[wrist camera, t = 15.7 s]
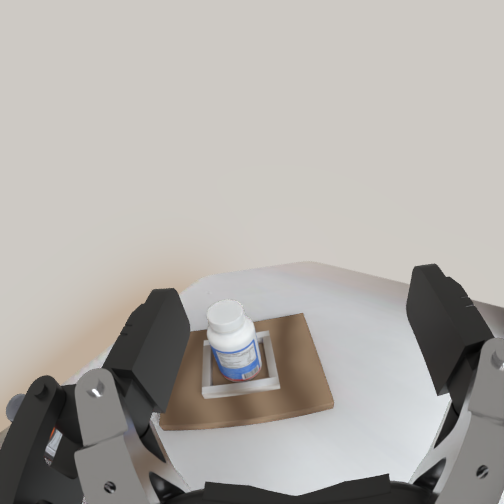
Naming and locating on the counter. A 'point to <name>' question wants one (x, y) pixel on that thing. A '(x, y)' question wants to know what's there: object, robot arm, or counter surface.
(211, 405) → the walnut board
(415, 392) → the counter surface
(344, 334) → the counter surface
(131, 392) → the robot arm
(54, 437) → the supplement bottle
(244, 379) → the pill bottle
